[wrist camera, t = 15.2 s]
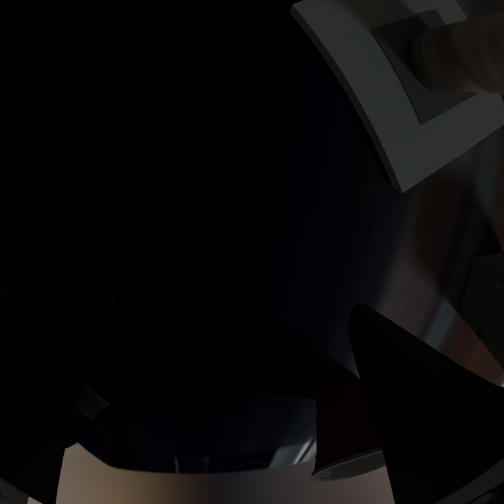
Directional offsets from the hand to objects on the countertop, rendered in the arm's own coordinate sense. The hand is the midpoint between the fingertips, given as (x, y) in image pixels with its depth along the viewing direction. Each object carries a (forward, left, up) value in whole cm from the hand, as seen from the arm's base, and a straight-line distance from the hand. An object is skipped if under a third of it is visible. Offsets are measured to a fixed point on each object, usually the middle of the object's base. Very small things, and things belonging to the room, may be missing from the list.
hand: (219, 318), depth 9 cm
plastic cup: (+13, -23, -13) cm, 30 cm away
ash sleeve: (+15, +13, -11) cm, 23 cm away
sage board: (+15, +13, -13) cm, 24 cm away
